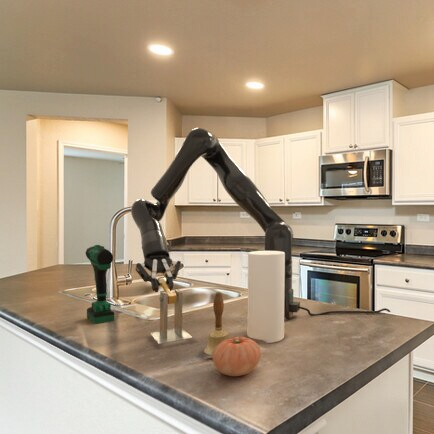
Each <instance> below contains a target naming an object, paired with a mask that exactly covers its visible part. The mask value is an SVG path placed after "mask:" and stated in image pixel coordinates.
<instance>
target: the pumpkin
mask: <svg viewBox="0 0 434 434" xmlns="http://www.w3.org/2000/svg"><path fill="white" fill-rule="evenodd" d="M212 357H213V360H212V363H213V366H214V367H215V369H216V371H218V372H219V373H221V374H222V375H225V376H229V377H240V376H244V375H247V374H249V373H251V372H252V371H253V370H255V369H256V368H257V366H258V365H259V363H260V361H261V358H262V352H261V348H260V346H259V344H258V343H257V342H256V341H255V340H254V339H253V338H250V337H245V336H233V337H230V338H229V337H228V339H227V340H224V341H222V342H221V343H219V344H218V345H217V347H216V348H215V350H214V352H213V355H212Z"/></svg>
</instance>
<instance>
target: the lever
mask: <svg viewBox="0 0 434 434" xmlns="http://www.w3.org/2000/svg"><path fill="white" fill-rule="evenodd" d="M156 279H157V282H158V287H159V288H161V289H162V291H165V292H166V293H168V305H173V304H174V305H175V303H176V299H177V295H176V294H175V291H172V290H171V291H170V290H169V288H168V286H167V283H168V280H167V279H166V278H165V277H164V276H160V277H158V278H156Z"/></svg>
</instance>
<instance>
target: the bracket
mask: <svg viewBox="0 0 434 434" xmlns="http://www.w3.org/2000/svg"><path fill="white" fill-rule="evenodd" d="M174 292H175V294H176V295H177V299H176V303H174V315H173V317H174V318H173V319H174V320H173V321H174V322H173V323H174V324H173V325H174V328H172V329H168V324H169V323H168V318H169V315H168V312H169V311H168V310H169V309H168V308H169V306H168V305H169V304H168V293H166V292H165V291H164V290H160V292H159V330H158V331H153V332H150V333H149V335H150V336H151V337H152V338H153V340H155V342H156V343H157V344H158V345H163V344H169V343H174V342H179V341H185V340H191V339H193V336H191V334H189V333H188V331H186V330H184V329H183V298H184V297H183V291H181V290H180V289H178V288H177V289H174Z"/></svg>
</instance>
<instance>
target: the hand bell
mask: <svg viewBox="0 0 434 434" xmlns="http://www.w3.org/2000/svg"><path fill="white" fill-rule="evenodd" d="M222 295H223V294H222V292H220V291H219V292H216V293H215V295H214V299H213V306H212V307H213V314H214V317H215V322H214V323H215V325H214V330H213V331H212V332H210V333H209V336H208V337H209V338H208V343H207V346H206V348H205V349H204V351H203V352H204V353H205V354H207V355H209V356H211V355H212V357H208V358H207V360H209V361H213V352H214V350H215V348H216V347H217V345H218V344H219V343H221V342H222V341H224V340H227V339H229V336H228V332H227V331H225V330H223V322H222V320H223V313H224V308H225V304H224V303H225V302H224V299H223V296H222Z"/></svg>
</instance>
